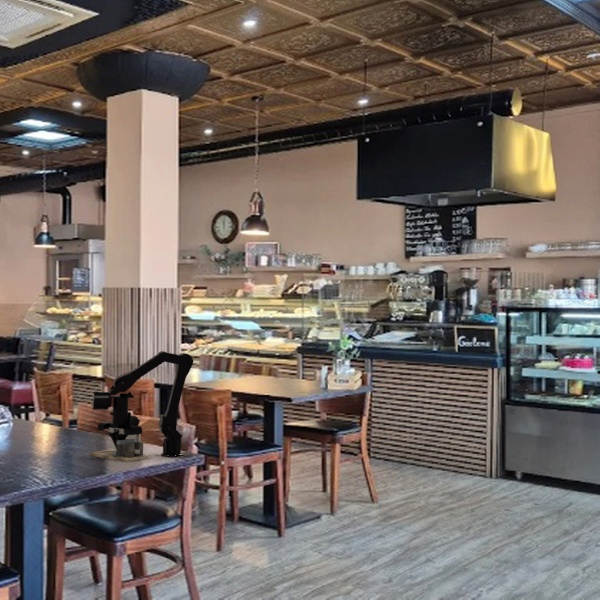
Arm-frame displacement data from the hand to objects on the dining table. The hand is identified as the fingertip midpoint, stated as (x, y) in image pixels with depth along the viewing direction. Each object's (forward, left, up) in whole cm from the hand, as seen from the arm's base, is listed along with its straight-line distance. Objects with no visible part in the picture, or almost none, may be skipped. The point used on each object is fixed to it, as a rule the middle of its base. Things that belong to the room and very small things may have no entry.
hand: (118, 451), depth 299 cm
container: (+12, -16, -2) cm, 20 cm away
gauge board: (0, 0, -2) cm, 2 cm away
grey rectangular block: (-7, +1, -1) cm, 7 cm away
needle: (-6, +5, 0) cm, 7 cm away
